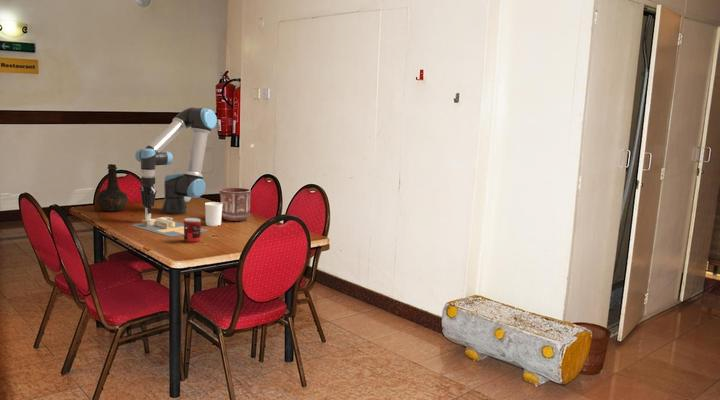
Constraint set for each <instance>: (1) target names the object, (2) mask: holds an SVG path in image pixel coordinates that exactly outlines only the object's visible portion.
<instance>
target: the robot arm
mask: <svg viewBox="0 0 720 400" xmlns="http://www.w3.org/2000/svg"><path fill="white" fill-rule="evenodd" d="M217 123H218V118H217V115H216V113H215V111H213V110H212V109H210V108H205V107H203V108H202V107H187V108H186V109H183V110H182V111H180V112H179V113H178V114H176V116H174V117H173V119H172V122H171V123H170V124H169V125H167V127H165V128H164V129H163V130H162V131H161V132H160V133H159V134H158V135H157V136H155V138H153V140H151V142H150V143H148V145H147V146H146V147H144V148H141V149H138V150H137V151H136V152H135V155H134V157H135V160H136V161H137V162H139V163H140V176H141V177H140V183H141V185H142V186H141V187H140V188H139V191H140V197H141V204H142V206H144V213H145V215H144V218H145V219H144V220H146V219H152V208H153V207H155V201H156V194H157V192H158V191H157V190H155V188H154V187H155V186H154V185H155V184H156V166H168V165H170V164H172V163H173V160H174V158H173V156H174V155H173V154H172V153H171V152H170V151H164V149H166V147H167V146H168V145H169V144H170V143H171V142H172V141H173V140H175V138H176V137H178V135H180V133H181V132H184V131H186V130H187V129H189V128H190V129H191V131H192V138H191V144H190V150H189V154H188V155H189V156H188V161H187V166H186V167H187V168H186V171H185V172H183V173H176V174H175V173H174V174H166V175H165V176H164V182H163V183H164V199H163V203H162V206H161V212H162V213H164V214H183V213H187V212H188V206H187V202H186V203H185V199H184V196H186V197H190V198H191V199H192V198H193V199H198V198H199V197H201V196H203V195H204V193H205V191H206V187H207V186H206V185H207V184H206V182H205V180H204V176H203V174H202V171H203V165H204V159H205V153H206V149H207V148H206V147H207V141H208V135H209V134H211V133H212V129H214V128H215V127H216V125H217ZM162 150H163V151H162Z"/></svg>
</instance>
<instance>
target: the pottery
mask: <svg viewBox="0 0 720 400" xmlns="http://www.w3.org/2000/svg"><path fill="white" fill-rule="evenodd" d="M251 195H252V190H251V189H249V188H244V187H224V188H220V189H219V197H220V198H219V199H220V203H222V204H223V205H222V219H224V220H225V221H226V222H230V221H235V222H234V223H237V222H236V221H241V222H245V221H246V220H247V219H248V217H249V216H250V211H251Z"/></svg>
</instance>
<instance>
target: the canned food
mask: <svg viewBox="0 0 720 400" xmlns="http://www.w3.org/2000/svg"><path fill="white" fill-rule="evenodd" d="M183 224H184V235H183V241H184V242H185V243H189V244H190V243H193V244H194V243H199V242H200V241H201V236H202V235H201V233H202V232H201V226H202V224H201V219H200V218H197V217H187V218H184V220H183Z"/></svg>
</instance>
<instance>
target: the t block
mask: <svg viewBox="0 0 720 400" xmlns="http://www.w3.org/2000/svg"><path fill="white" fill-rule="evenodd" d="M173 219H174V218H173V217H170V216H161V217H155V218H154V217H153V218H151V219H141V224H142V226H146V227H150V226H159V227H163V228H166V229H168V228H175V222H176V221H175V222H173V221H174V220H173Z"/></svg>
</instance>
